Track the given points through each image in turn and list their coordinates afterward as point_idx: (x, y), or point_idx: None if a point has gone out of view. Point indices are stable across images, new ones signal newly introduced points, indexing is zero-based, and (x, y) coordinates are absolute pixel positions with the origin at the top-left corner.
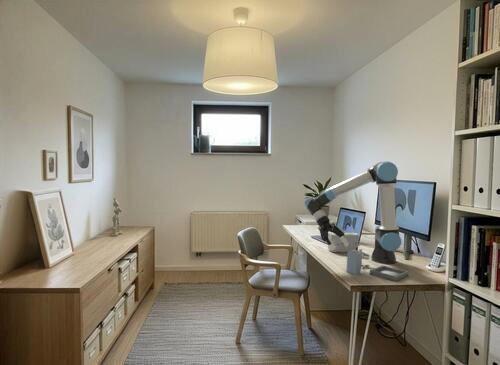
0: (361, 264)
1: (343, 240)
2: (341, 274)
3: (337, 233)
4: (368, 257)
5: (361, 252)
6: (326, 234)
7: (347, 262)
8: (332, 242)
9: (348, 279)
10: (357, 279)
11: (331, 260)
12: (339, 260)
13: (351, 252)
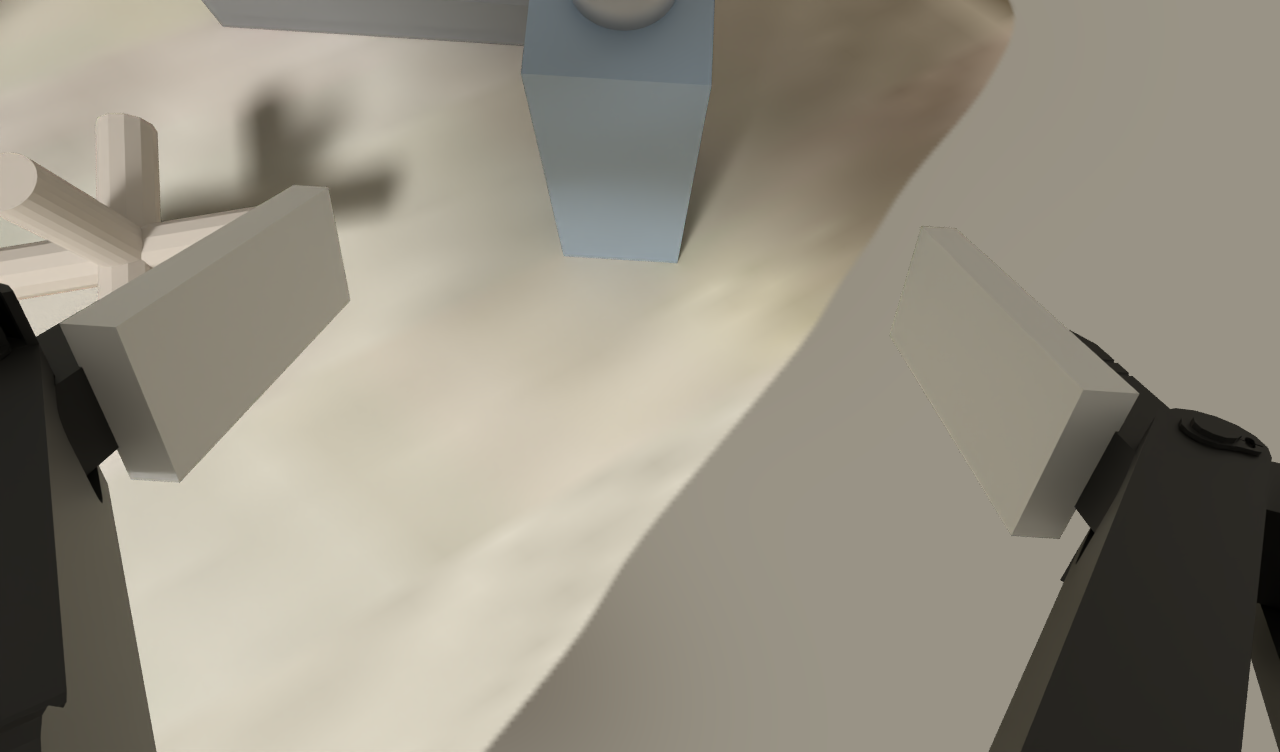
0: None
1: (245, 325)
2: (815, 259)
3: (88, 551)
4: (125, 118)
5: (78, 189)
6: (1251, 584)
7: (688, 193)
8: (998, 296)
9: (905, 120)
10: (821, 59)
11: (295, 740)
12: (197, 643)
13: (704, 4)
